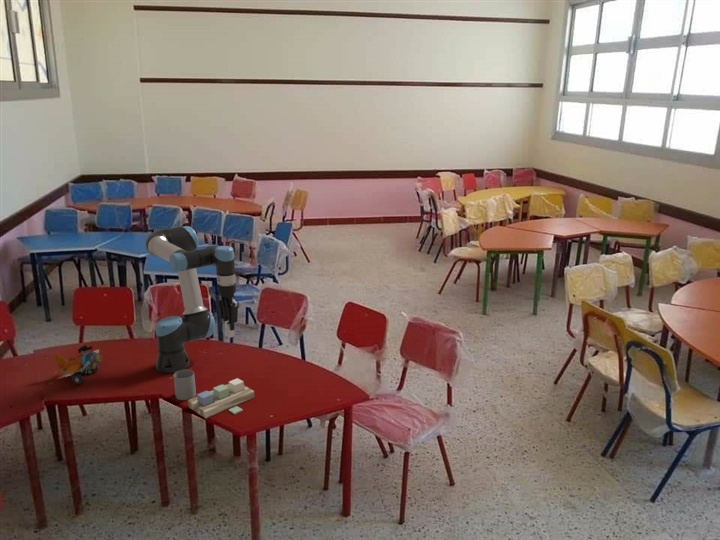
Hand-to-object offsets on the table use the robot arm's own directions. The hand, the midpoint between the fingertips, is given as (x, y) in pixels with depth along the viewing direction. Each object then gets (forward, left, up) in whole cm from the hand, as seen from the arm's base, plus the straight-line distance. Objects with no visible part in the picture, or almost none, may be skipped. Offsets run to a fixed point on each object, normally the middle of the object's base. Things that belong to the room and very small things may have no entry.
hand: (230, 336), depth 247 cm
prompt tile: (+17, -11, -24) cm, 32 cm away
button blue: (+7, -18, -22) cm, 30 cm away
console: (+7, -11, -24) cm, 28 cm away
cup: (-9, -18, -25) cm, 32 cm away
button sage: (+7, -10, -22) cm, 26 cm away
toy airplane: (-57, -43, -25) cm, 76 cm away
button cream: (+7, -3, -22) cm, 24 cm away
